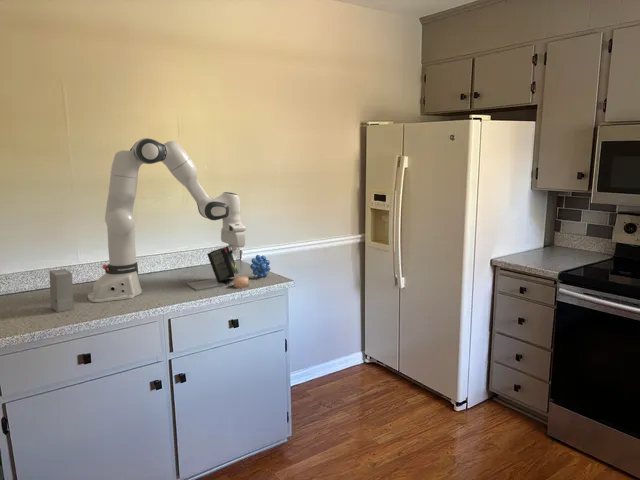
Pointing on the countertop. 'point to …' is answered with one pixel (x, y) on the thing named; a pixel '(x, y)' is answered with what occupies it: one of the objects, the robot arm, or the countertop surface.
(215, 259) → the tampon box
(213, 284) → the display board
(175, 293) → the countertop surface
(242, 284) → the tan round lump
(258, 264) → the grapes
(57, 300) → the skincare box
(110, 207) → the robot arm
